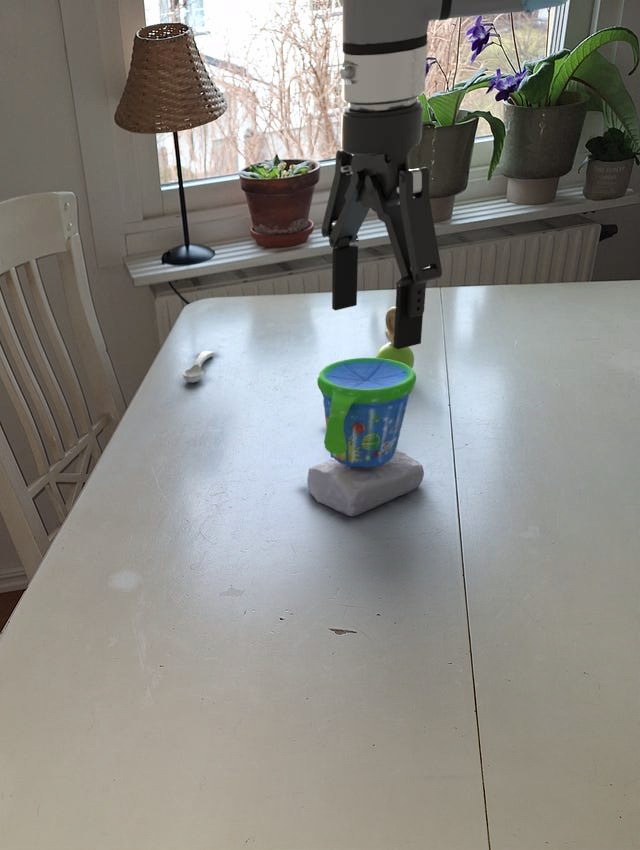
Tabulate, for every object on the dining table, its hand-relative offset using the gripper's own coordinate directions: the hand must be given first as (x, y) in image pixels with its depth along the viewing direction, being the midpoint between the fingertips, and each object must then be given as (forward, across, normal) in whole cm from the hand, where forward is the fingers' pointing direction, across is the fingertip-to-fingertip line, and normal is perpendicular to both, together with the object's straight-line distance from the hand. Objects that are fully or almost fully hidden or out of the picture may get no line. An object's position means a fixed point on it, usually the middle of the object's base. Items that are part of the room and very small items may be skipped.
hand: (374, 325), depth 99 cm
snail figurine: (+20, -25, +18) cm, 36 cm away
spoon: (+20, -44, -5) cm, 48 cm away
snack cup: (+16, 0, -1) cm, 16 cm away
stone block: (+20, 0, -1) cm, 20 cm away
